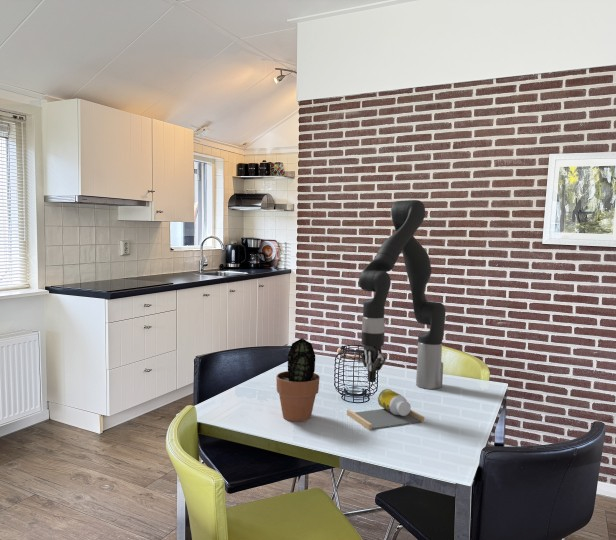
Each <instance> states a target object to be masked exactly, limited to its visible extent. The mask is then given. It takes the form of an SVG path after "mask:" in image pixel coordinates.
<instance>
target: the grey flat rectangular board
mask: <svg viewBox="0 0 616 540" xmlns="http://www.w3.org/2000/svg"><path fill="white" fill-rule="evenodd" d="M346 415H347V416H348V417H349V416H350V417H349V418H351V419H353V420H354V421H355V422H357V423H358V424H360V425H361V426H363V427H364V428H366V429H367V430H369V431H371V430H378V429H384V428H385V429H386V428H391V427H400V426H404V425H405V426H407V425H411V424H419V423H425V416H424V415H422V414H420V413H418V412H416V411H414V410H413V409H411V410H410V412H409V413H408V414H407V415H405V416H402V415H395V414H393V413H391V412H389V411H388V410H386V409H384V408H379V409H371V410H364V411H362V410H361V411H355V412H354V411H353V410H352V409H346Z"/></svg>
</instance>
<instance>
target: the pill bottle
mask: <svg viewBox="0 0 616 540" xmlns="http://www.w3.org/2000/svg"><path fill="white" fill-rule="evenodd" d="M377 402H378V405H379V406H380V407H381V408H382V409H386V410H388V411H389V412H391V413H393V414H395V415H402V416H405V415H407V414H408V413H409V412H410V410H412V408H411V403H410V402H409V401H407V399H406V397H404V396H403V395H402V394H400V393H398V392H396V391H394V390H392V389H389V388H386V389H383V390H381V391H380V392H379V393H378V396H377Z"/></svg>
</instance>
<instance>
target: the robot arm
mask: <svg viewBox="0 0 616 540" xmlns="http://www.w3.org/2000/svg"><path fill="white" fill-rule="evenodd" d="M390 215H391V221H392V224H393V226H394V229H395V232H393V234H392V235H390V236H389V237H388V238H386V239H385V240H384V242H383V243H382V244H381V245H380V247H379V248H378V251H377V253H376V255H375V257H374V258H373V259H372V260H371V261H370V262H369V264H367V265H366V266H365V268H363V269H362V271H361V273H360V274H359V277H358V285H359V287H360V288H361V290H362V291H366V292H372V293H373V292H375V293H374V296H373V298H372V297H371V298H366V299H365V300H364V301H363V305H362V308H363V309H362V320H361V321H362V322H361V344H362V346H363V349H362V350H360V351H359V354H360V355H359V356H360V357H361V360H362V364H363V367H364V368H366V370H367V381H368V382H369V383H375V382H376V380H377V379H376V378H377V371H381V369H382V367H383V366H384V364H385V363H386V360H387V359H386V357H383V356H382V354H383V353H382V346H384V345H385V331H386V330H385V328H386V327H385V326H386V325H385V323H386V322H385V305H386V302H387V298H388V294H389V291H390V289H391V284H392V283H391V282H392V279H391V275H390V274H389V273H388V272H390V271H392V270H393V269H394V268H395V267H394V266H395V264H396V263H397V261H398V258H399V257H400V255H401V253H402V256H403V261H404V262H403V263H404V266H405V270H406V271H405V272H406V274H407V277H408V278H407V280H408V283H409V288H410V292H411V299H412V300H411V301H412V306H413V307H412V309H413V314H414V318H415V321H416V322H417V323H419V324H421V325H425V326H426V325H427V326H430V328H429V330H428V331H427V332H422V333H419V335H418V336H417V352H416V353H417V357H416V358H417V359H416V376H415V377H416V378H415V380H416V381H415V385H416V386H417V387H419V388H422V389H429V390H436V389H439V388H441V387H443V381H444V380H443V378H444V377H443V376H444V362H443V361H442V357H443V356H442V353H443V352H442V351H443V339H444V335H445V323H446V307H445V305H444V304H443V303H441V302H437V301H429V300H427V297H426V294H425V293H426V291H425V289H426V287H427V285H428V282H429V280H430V278H431V275H432V266H431V261H430V260H431V259H430V256H429V253H428V252H427V250H426V248H424V247H423V245H422V244H421V243H420V242H419V241H418V240H417V239H416V237H415V236H414V235H415V233H416V231H417V230H418V229H419V228H420V226H421V225H422V224H423V222H424V219H425V217H426V207H425V204H424V203H423V202H422V201H421V200H417V199H409V200H408V199H407V200H396V201H394V202H393V203H392V205H391V209H390Z"/></svg>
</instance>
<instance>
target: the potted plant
mask: <svg viewBox="0 0 616 540" xmlns="http://www.w3.org/2000/svg"><path fill="white" fill-rule="evenodd" d="M288 351H289V352H288V353H287V370H286V371H283V372H282V371H281V372H279V373H277V374H276V376H275V377H276V392H277V394H278V395H279V396H278V397H279V401H280V408H281V412H282V417H283V419H285V420H286V421H290V422H297V423H299V422H307V421H309V420H310V419H311V418H312V415H313V414H312V413H313V409H314V406H315V400H316V395H317V394H319V389H320V388H319V387H320V377H321V376H320V375H319V374H318V373H315V371H316V354H315V350H314V348H313V344H312V343H311V342H309V341H307V340H306V339H304V338H303V337H302V338H300V339H297V340H296V341H294V342H292V343H291V346H290V349H289V350H288Z"/></svg>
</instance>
